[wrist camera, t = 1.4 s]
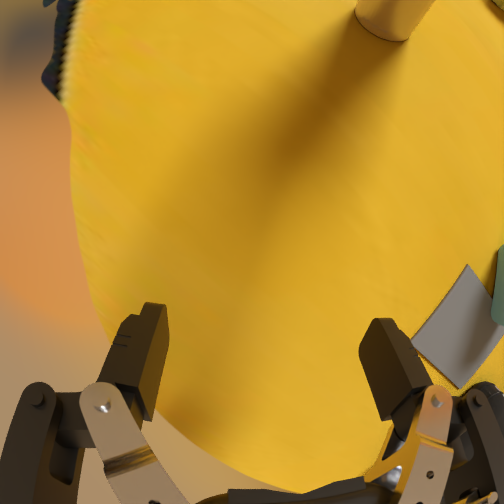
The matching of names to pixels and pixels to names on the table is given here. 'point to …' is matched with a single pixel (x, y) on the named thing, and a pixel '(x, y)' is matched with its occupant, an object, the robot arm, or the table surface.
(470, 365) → the mat
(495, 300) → the data package
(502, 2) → the plant pot
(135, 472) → the robot arm
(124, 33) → the table surface
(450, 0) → the table surface
